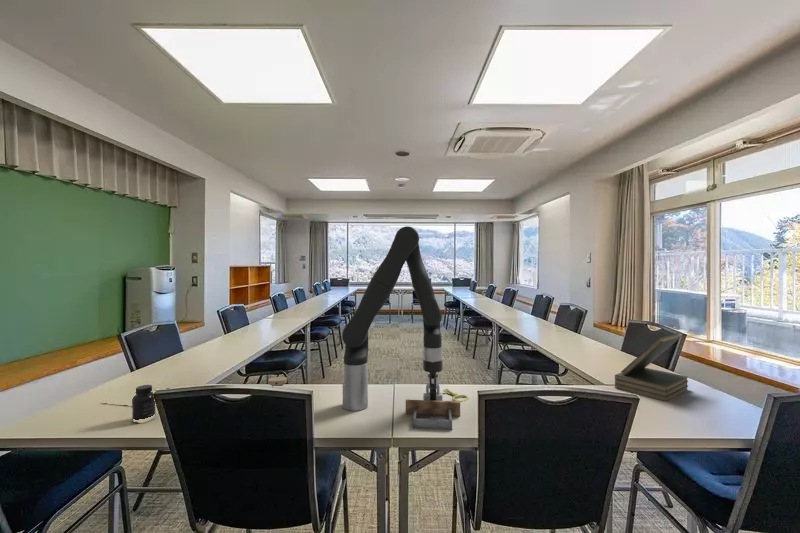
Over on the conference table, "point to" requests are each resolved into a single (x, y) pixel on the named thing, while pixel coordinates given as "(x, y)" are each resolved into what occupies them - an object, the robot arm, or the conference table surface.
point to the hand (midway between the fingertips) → (433, 399)
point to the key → (456, 395)
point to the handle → (277, 381)
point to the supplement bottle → (143, 403)
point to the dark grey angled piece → (652, 374)
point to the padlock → (427, 396)
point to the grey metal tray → (432, 421)
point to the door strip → (432, 407)
